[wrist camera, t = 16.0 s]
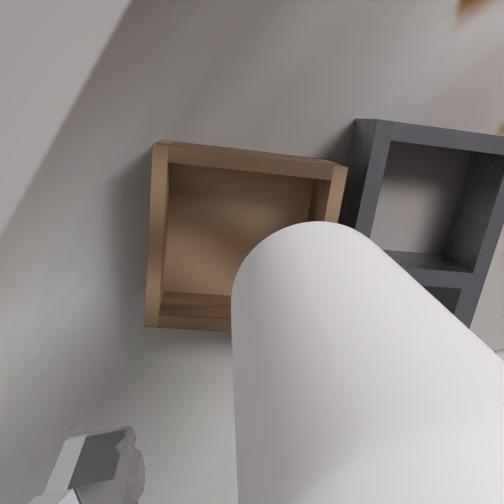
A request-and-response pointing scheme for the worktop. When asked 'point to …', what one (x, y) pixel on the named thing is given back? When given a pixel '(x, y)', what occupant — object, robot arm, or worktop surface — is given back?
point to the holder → (222, 222)
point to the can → (357, 380)
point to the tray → (465, 218)
